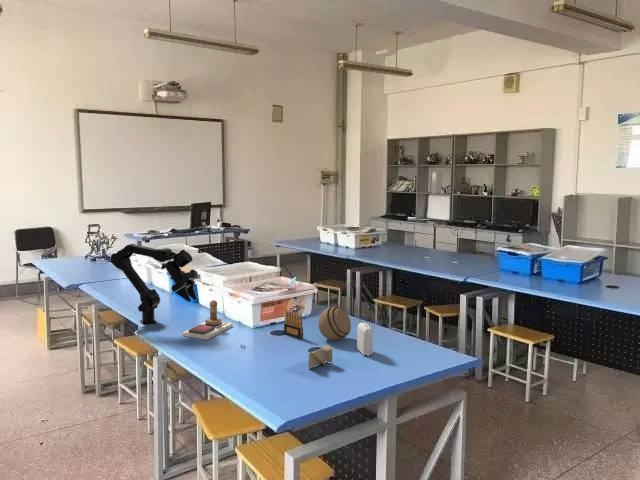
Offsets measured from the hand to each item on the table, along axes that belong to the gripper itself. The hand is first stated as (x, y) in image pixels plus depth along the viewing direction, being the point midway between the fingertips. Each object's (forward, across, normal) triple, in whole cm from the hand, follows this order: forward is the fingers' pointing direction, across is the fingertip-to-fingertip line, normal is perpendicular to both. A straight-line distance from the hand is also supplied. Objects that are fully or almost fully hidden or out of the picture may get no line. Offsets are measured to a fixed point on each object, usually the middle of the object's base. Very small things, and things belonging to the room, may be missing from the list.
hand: (193, 300), depth 258 cm
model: (+52, -42, -41) cm, 79 cm away
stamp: (+15, +2, -2) cm, 15 cm away
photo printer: (+59, -24, -57) cm, 86 cm away
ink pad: (+14, -8, +1) cm, 17 cm away
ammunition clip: (+39, -6, -32) cm, 51 cm away
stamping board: (+16, -3, 0) cm, 16 cm away
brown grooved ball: (+50, -9, -48) cm, 70 cm away
